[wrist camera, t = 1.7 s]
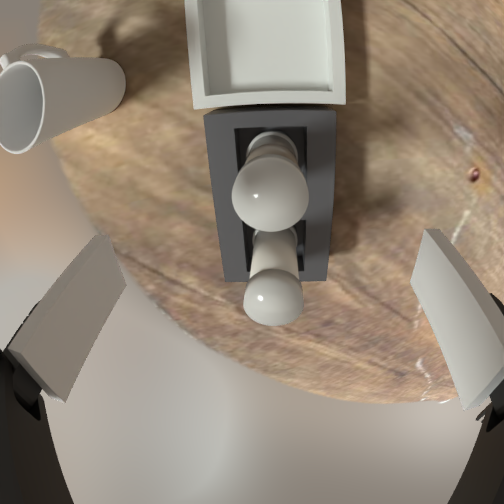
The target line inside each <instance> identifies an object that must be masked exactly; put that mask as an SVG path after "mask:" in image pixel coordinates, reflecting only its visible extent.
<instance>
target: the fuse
mask: <svg viewBox="0 0 504 504" xmlns="http://www.w3.org/2000/svg"><path fill="white" fill-rule="evenodd" d="M252 242H253V246H254V248H253V256H252V264H251V271H250V279H249V280H248V282H247V284H246V289H245V296H244V309H245V312H246V313H247V315H248V316H249V317H250V318H251V319H253V320H254V321H256V322H258V323H260V324H263V325H269V326H279V325H284V324H288V323H290V322H292V321H294V320H295V319H296V318H298V317H299V315H300V314H301V313H302V311H303V307H304V300H303V289H302V285H301V282H300V281H299V274H298V262H297V251H296V247H297V242H298V240H297V231H296V227H295V225H293V226H291V227H289V228H287V229H284V230H281V231H275V232H267V231H261V230H257V229H255V228H254V232H253V239H252Z"/></svg>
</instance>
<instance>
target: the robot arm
mask: <svg viewBox="0 0 504 504" xmlns="http://www.w3.org/2000/svg"><path fill="white" fill-rule="evenodd" d="M410 284H411V286H412V288H413V290H414V292H415V294H416V296H417V298H418V300H419V302H420V304H421V306H422V308H423V310H424V312H425V314H426V316H427V318H428V321H429V323H430V325H431V327H432V329H433V332H434V334H435V336H436V339H437V341H438V343H439V346H440V348H441V350H442V353H443V355H444V358H445V360H446V363H447V365H448V368H449V371H450V373H451V376H452V379H453V381H454V384H455V387H456V390H457V393H458V396H459V399H460V402H461V405H462V408H463V410H464V411H465V410H468V409H471V408H474V407H477V406H480V405H481V404H482V403H483V402H484V401H485V399H487V398H488V397H489V396H490V398H491V401H492V402H491V403H490V404H489V405H488V406H487V407H486V408H485V409H484V410H483V411H482V412H481V413H480V414H479V415H478V416H477V418H476V420H477V421H478V420H479V419H480V418H481V417H482V416H484V415H485V417H484V419H483V420H482V426H481V429H480V432H479V435H478V438H477V441H476V443H475V446H474V448H473V451H472V453H471V456H470V458H469V461H468V463H467V465H466V467H465V470H464V472H463V474H462V476H461V478H460V480H459V482H458V485H457V487H456V489H455V491H454V493H453V495H452V496H451V498H450V500H449V502H448V504H504V305H503V304H502V302H501V301H500V300H499V299H497V298H496V297H495V296H494V295H493V294H492V293H490V294H489V293H488V291H487V290H486V288H485V287H484V285H483V284H482V282H481V281H480V280H479V278H478V277H477V276H476V274H475V273H474V272H473V270H472V269H471V267H470V266H469V265H468V264H467V262H466V261H465V260H464V258H463V257H462V256H461V255H460V253H459V252H458V251H457V250H456V248H455V247H454V246H453V245H452V243H451V242H450V241H449V240H448V239H447V237H446V236H445V235H444V234H443V233H442V232H441V230H440V229H424V233H423V237H422V241H421V245H420V249H419V253H418V256H417V260H416V264H415V267H414V270H413V274H412V277H411V280H410ZM125 287H126V283H125V280H124V277H123V275H122V272H121V269H120V266H119V264H118V261H117V258H116V255H115V252H114V249H113V246H112V243H111V240H110V237H109V235H95V236H94V237H93V238H92V240H91V241H90V242H89V243H88V244H87V245H86V246H85V247H84V248H83V250H82V251H81V252H80V253H79V254H78V255H77V257H76V258H75V259H74V260H73V261H72V262H71V263H70V265H69V266H68V267H67V268H66V269H65V270H64V272H63V273H62V274H61V275H60V277H59V278H58V279H57V280H56V282H55V283H54V284H53V285H52V287H51V288H50V289H49V290H48V292H47V293H46V294H45V296H44V297H43V298H42V300H40V301H39V302H38V303H37V304H36V305H35V306H34V307H33V309H32V310H31V311H30V313H29V316H27V317H26V319H25V320H24V321H23V324H21V325H20V327H19V328H18V330H17V331H16V333H15V334H14V336H13V337H12V339H11V341H10V342H9V344H8V345H7V346H6V348H5V349H4V351H3V352H2V350H1V349H0V504H74V503H73V500H72V498H71V495H70V493H69V490H68V488H67V485H66V482H65V479H64V476H63V473H62V471H61V467H60V464H59V461H58V458H57V455H56V451H55V448H54V444H53V440H52V437H51V432H50V428H49V423H48V419H47V414H46V409H45V404H44V400H43V397H42V396H41V395H40V392H41V390H42V389H43V390H44V391H45V392H46V393H47V394H48V395H49V396H50V397H51V398H53V399H55V400H58V401H61V402H63V403H65V402H66V400H67V398H68V396H69V393H70V391H71V389H72V387H73V385H74V383H75V381H76V378H77V376H78V374H79V372H80V370H81V368H82V366H83V364H84V362H85V360H86V358H87V356H88V354H89V352H90V350H91V348H92V346H93V344H94V342H95V340H96V339H97V337H98V335H99V333H100V331H101V329H102V327H103V325H104V324H105V322H106V320H107V318H108V316H109V315H110V313H111V311H112V309H113V307H114V306H115V304H116V302H117V300H118V299H119V297H120V295H121V294H122V292H123V290H124V289H125Z"/></svg>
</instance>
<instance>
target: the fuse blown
mask: <svg viewBox="0 0 504 504" xmlns="http://www.w3.org/2000/svg"><path fill="white" fill-rule="evenodd" d="M308 202H309V192H308V187H307V184H306V180H305V177H304V174H303V173H302V171H301V169H300V168H299V166H298V153H297V149H296V146H295V143H294V142H293V140H292V139H291V138H290V137H289V136H288V135H287V134H286V133H284V132H282V131H279V130H265V131H262V132H260V133H258V134H257V135H256V136H255V137H254V138H253V139H252V140H251V142H250V144H249V147H248V149H247V153H246V162H245V164H244V165H243V167H242V168H241V169H240V171H239V173H238V175H237V177H236V180H235V183H234V185H233V189H232V203H233V206H234V209H235V211H236V213H237V214H238V216H239V217H240V218H241V220H243V221H244V222H245V223H246V224H247V225H249V226H251V227H253V228H255V229H257V230H261V231H267V232H275V231H281V230H284V229H287V228H289V227H291V226H293V225H294V224H295V223H297V222H298V221H299V220H300V219H301V218H302V216H303V215H304V213H305V211H306V209H307V206H308Z"/></svg>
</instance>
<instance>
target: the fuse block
mask: <svg viewBox="0 0 504 504" xmlns="http://www.w3.org/2000/svg"><path fill="white" fill-rule="evenodd" d="M204 125H205V134H206V143H207V152H208V160H209V168H210V176H211V184H212V192H213V200H214V207H215V215H216V222H217V229H218V236H219V243H220V250H221V257H222V264H223V270H224V277H225V282H248V280H249V279H250V271H251V264H252V256H253V248H254V246H253V242H252V239H253V232H254V228H253V227H251V226H249V225H247V224H246V223H245V222H244V221H243V220H241V218H240V217H239V216H238V214H237V213H236V211H235V209H234V206H233V203H232V189H233V185H234V183H235V180H236V177H237V175H238V173H239V171H240V169H241V168H242V167H243V165H244V164H245V162H246V153H247V149H248V147H249V144H250V142H251V140H252V139H253V138H254V137H255V136H256V135H257V134H258V133H260V132H262V131H265V130H279V131H282V132H284V133H286V134H287V135H288V136H289V137H290V138H291V139H292V140H293V142H294V143H295V146H296V149H297V153H298V166H299V168H300V169H301V171H302V173H303V174H304V177H305V180H306V184H307V187H308V192H309V202H308V206H307V209H306V211H305V213H304V215H303V216H302V218H301V219H300V220H299V221H298V222H297V223H295V224H294V225H295V227H296V231H297V240H298V242H297V247H296V251H297V262H298V274H299V281H326V278H327V269H328V260H329V250H330V239H331V228H332V215H333V200H334V182H335V158H336V111H334V110H333V109H331V108H329V107H320V106H271V107H249V108H234V109H222V110H213V111H211V112H209V113H207V114H206V115H204Z"/></svg>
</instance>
